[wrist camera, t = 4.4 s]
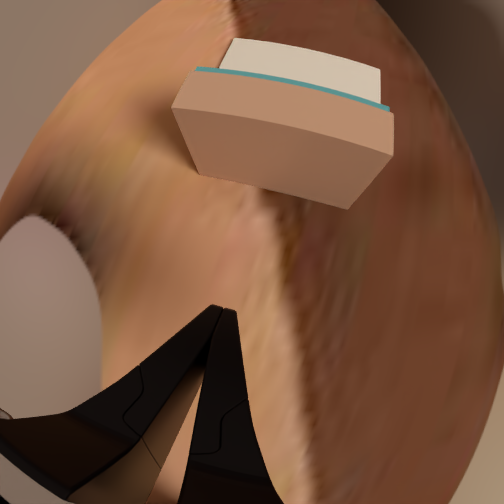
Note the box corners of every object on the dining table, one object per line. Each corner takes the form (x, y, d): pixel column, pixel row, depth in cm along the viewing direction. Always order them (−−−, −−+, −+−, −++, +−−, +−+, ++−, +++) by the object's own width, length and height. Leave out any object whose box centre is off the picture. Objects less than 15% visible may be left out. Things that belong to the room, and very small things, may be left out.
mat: (375, 170, 23) (377, 168, 22) (193, 128, 24) (192, 125, 23) (379, 71, 25) (380, 69, 25) (234, 40, 26) (234, 37, 26)
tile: (347, 209, 22) (393, 155, 13) (199, 175, 23) (170, 107, 14) (352, 170, 23) (393, 106, 14) (212, 138, 24) (193, 64, 15)
